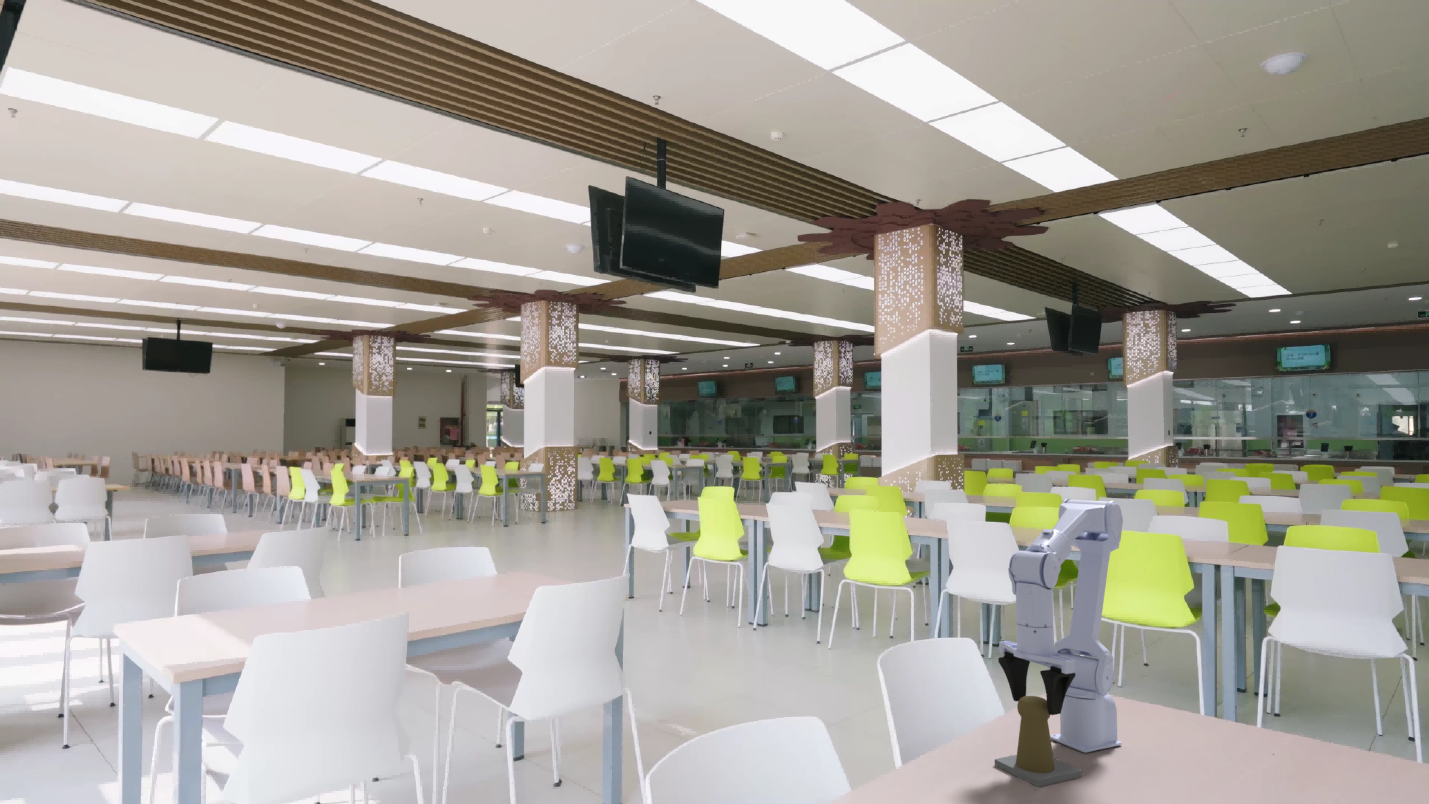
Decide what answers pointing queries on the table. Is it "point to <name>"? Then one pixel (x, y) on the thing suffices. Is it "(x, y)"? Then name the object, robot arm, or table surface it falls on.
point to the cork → (1034, 736)
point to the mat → (1039, 779)
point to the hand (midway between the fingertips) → (1036, 706)
